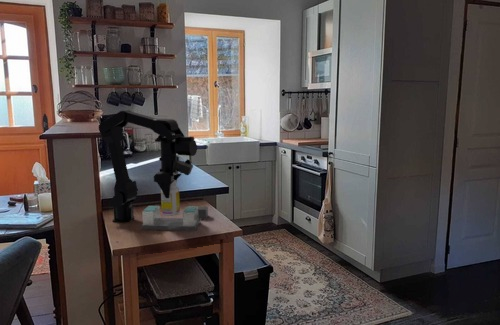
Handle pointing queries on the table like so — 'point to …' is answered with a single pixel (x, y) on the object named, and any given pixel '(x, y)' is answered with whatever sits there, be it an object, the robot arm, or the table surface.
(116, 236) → the table surface
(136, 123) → the robot arm
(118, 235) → the table surface
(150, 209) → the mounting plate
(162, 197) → the supplement bottle
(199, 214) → the loose gray rectangular block
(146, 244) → the table surface
